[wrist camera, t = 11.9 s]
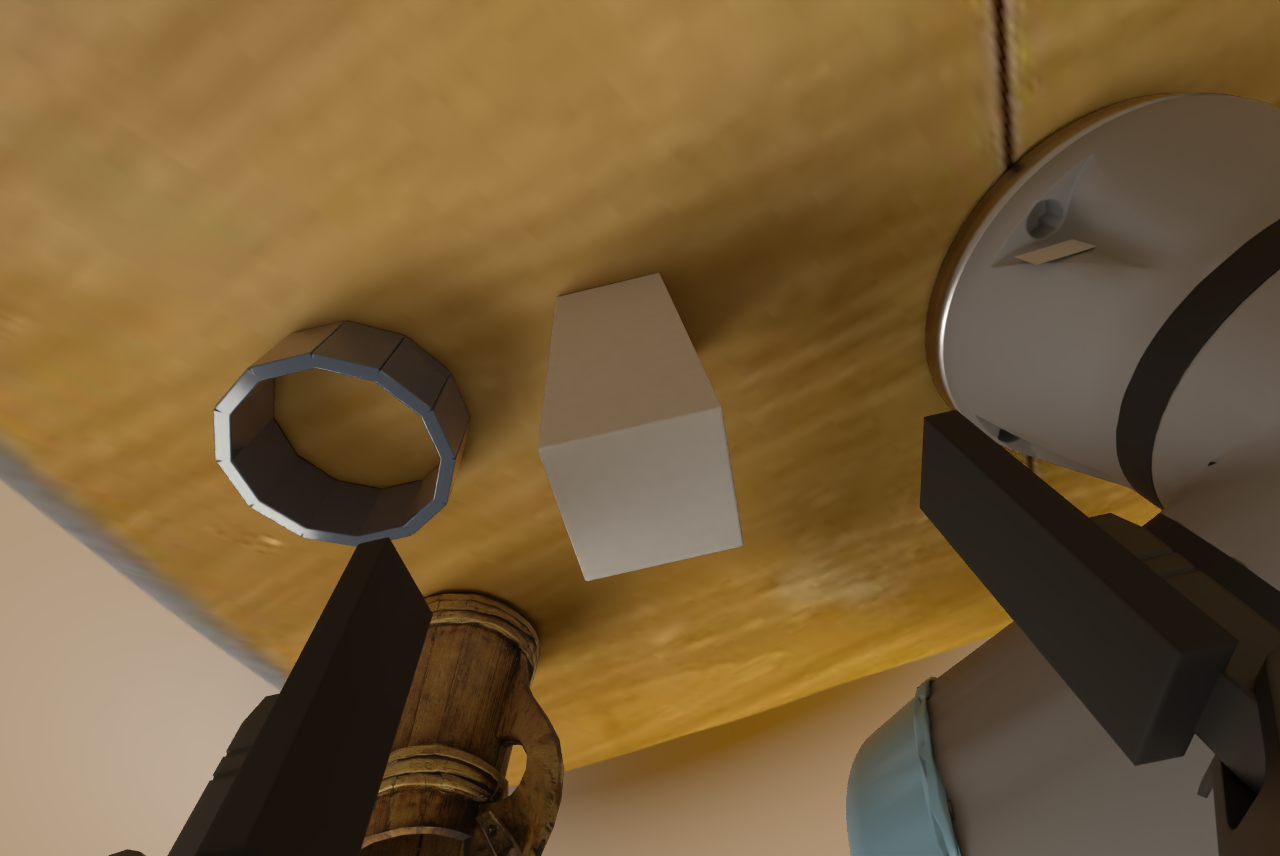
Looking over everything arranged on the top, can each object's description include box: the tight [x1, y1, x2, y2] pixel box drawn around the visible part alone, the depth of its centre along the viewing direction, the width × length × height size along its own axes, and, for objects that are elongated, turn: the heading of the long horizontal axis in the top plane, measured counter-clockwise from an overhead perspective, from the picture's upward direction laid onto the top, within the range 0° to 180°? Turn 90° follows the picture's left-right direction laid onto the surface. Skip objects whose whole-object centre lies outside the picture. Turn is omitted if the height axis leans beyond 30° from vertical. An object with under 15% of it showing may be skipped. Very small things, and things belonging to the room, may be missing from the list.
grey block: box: [538, 273, 744, 581], centre depth 19 cm, size 4×4×12 cm
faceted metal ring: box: [213, 321, 470, 547], centre depth 24 cm, size 9×9×4 cm
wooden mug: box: [359, 593, 564, 856], centre depth 25 cm, size 9×14×18 cm, turn 108°
